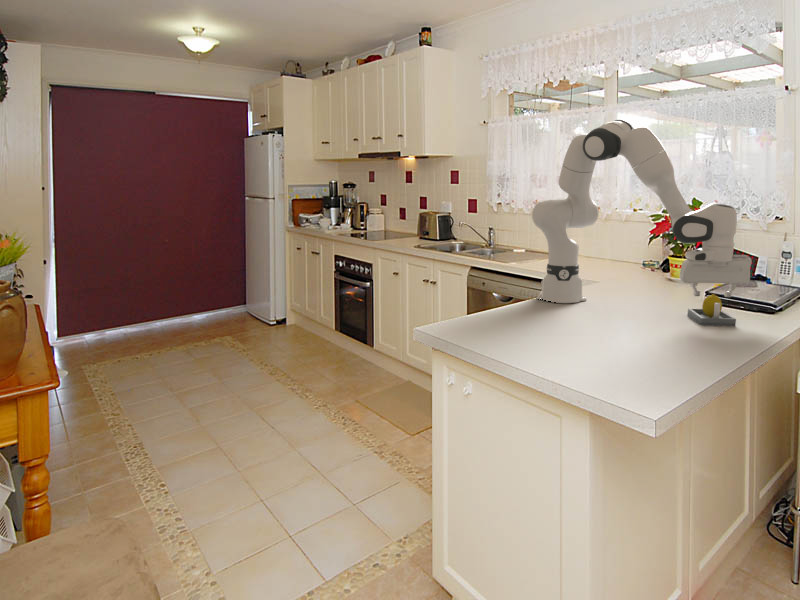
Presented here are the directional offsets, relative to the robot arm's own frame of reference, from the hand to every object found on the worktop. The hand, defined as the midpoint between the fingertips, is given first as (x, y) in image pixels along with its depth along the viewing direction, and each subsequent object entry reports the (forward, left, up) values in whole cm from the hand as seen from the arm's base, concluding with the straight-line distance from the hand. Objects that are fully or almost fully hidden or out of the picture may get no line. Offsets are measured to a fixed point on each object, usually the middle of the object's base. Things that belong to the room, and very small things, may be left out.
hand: (711, 296), depth 181 cm
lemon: (+1, 0, -7) cm, 7 cm away
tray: (+1, 0, -8) cm, 8 cm away
